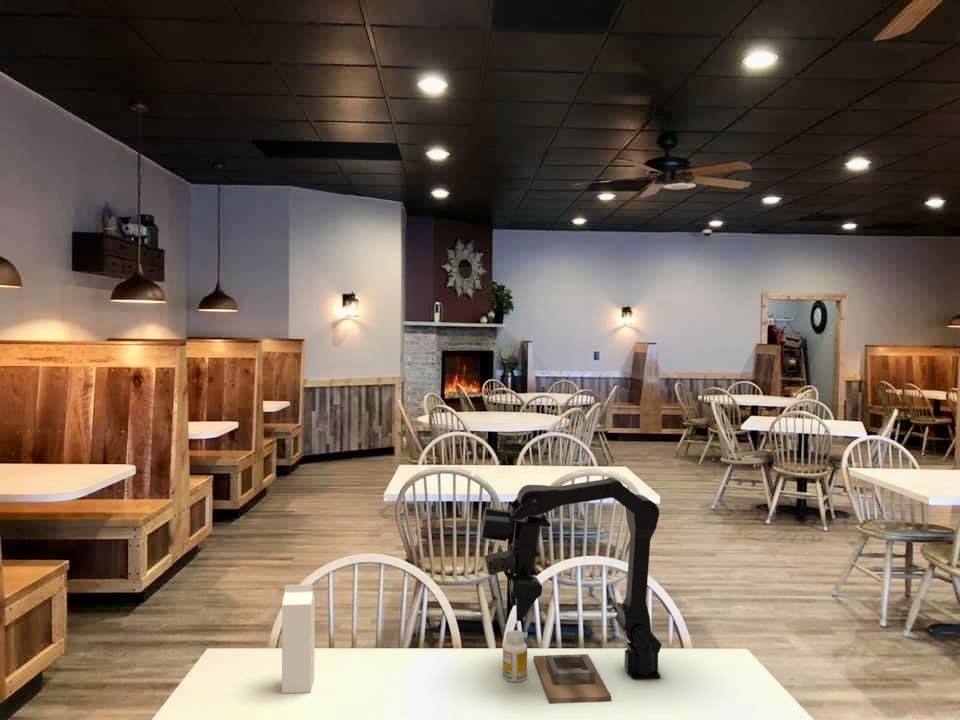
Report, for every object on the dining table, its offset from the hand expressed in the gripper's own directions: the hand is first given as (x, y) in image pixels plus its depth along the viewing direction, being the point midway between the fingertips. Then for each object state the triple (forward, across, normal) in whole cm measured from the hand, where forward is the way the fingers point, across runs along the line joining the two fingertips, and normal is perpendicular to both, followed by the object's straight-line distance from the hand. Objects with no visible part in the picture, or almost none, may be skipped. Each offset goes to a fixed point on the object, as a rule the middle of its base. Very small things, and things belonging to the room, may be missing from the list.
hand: (516, 612), depth 157 cm
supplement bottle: (+14, 0, +2) cm, 15 cm away
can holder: (+13, +2, +14) cm, 19 cm away
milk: (+20, +1, -45) cm, 49 cm away
